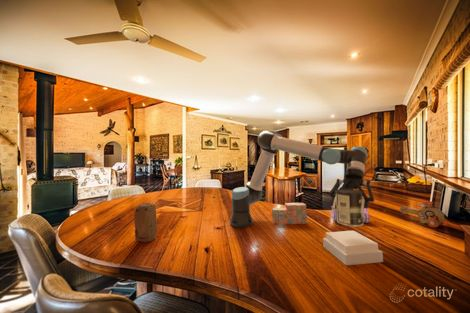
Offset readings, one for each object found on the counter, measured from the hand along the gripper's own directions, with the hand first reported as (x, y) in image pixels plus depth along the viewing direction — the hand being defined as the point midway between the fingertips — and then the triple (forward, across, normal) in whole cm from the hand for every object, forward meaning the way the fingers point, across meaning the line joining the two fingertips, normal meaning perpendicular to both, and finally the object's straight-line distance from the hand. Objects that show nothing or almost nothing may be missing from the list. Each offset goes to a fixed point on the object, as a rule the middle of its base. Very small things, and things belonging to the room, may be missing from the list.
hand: (347, 211), depth 81 cm
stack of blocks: (-1, +40, -29) cm, 50 cm away
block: (+51, +88, +24) cm, 104 cm away
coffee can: (+2, 0, -6) cm, 6 cm away
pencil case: (-20, +11, -48) cm, 53 cm away
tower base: (+12, 0, -16) cm, 19 cm away
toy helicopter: (-36, -23, -64) cm, 77 cm away
